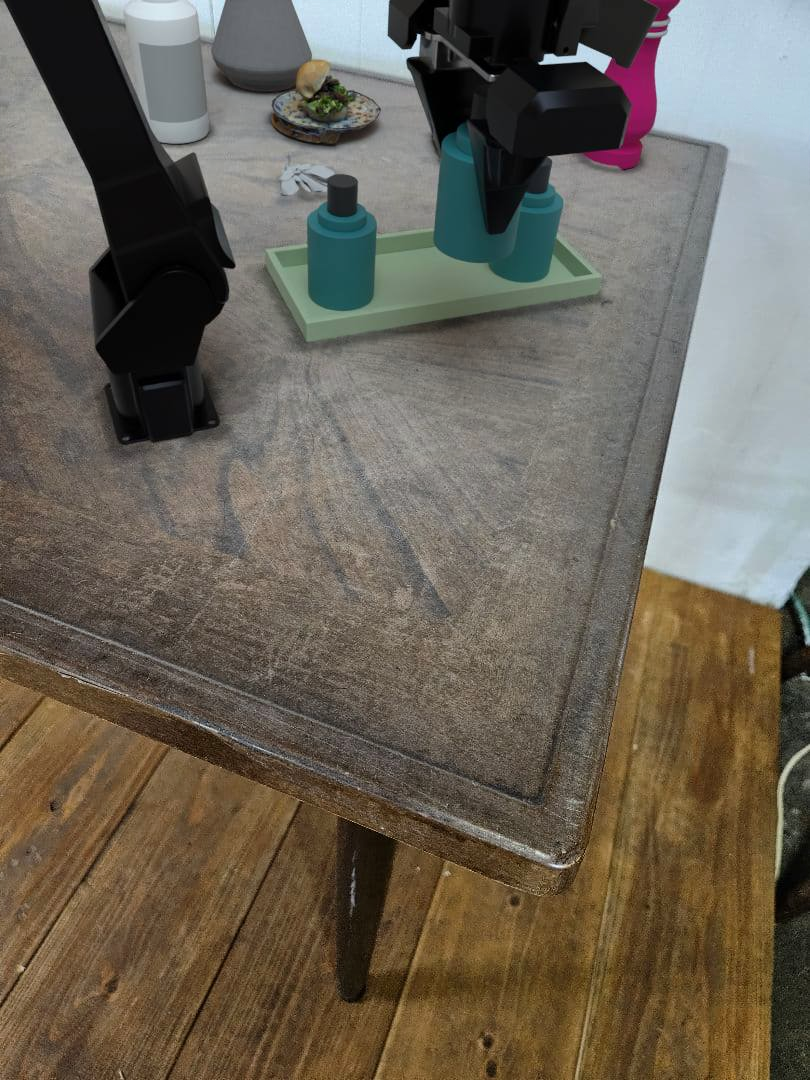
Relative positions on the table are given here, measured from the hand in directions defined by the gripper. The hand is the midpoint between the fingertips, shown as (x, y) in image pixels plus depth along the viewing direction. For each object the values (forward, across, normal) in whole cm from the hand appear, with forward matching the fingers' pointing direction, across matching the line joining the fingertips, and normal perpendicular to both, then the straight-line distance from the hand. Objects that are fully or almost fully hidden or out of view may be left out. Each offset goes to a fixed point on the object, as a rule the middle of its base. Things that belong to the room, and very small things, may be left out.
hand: (476, 212), depth 51 cm
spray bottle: (+12, +47, +12) cm, 50 cm away
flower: (+12, +31, +1) cm, 33 cm away
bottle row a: (+12, +12, -11) cm, 20 cm away
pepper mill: (+13, +32, -32) cm, 46 cm away
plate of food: (+12, +46, -4) cm, 48 cm away
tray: (+12, +12, -3) cm, 17 cm away
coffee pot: (+12, +61, +4) cm, 62 cm away
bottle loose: (+2, 0, 0) cm, 2 cm away
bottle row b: (+12, +12, +5) cm, 17 cm away
